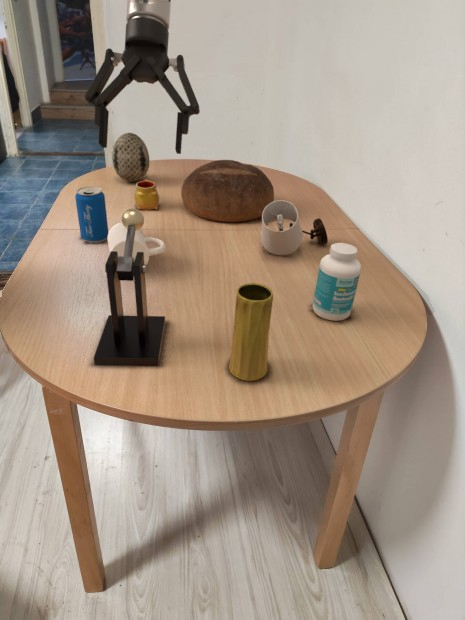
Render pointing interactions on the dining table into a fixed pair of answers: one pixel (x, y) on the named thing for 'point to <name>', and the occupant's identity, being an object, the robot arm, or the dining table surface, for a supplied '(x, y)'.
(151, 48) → the robot arm
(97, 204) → the beverage can
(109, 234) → the mug
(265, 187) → the bread
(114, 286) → the stand
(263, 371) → the vase
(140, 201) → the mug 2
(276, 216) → the light fixture
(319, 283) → the pill bottle
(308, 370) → the dining table surface
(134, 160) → the decorative egg
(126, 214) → the lever
